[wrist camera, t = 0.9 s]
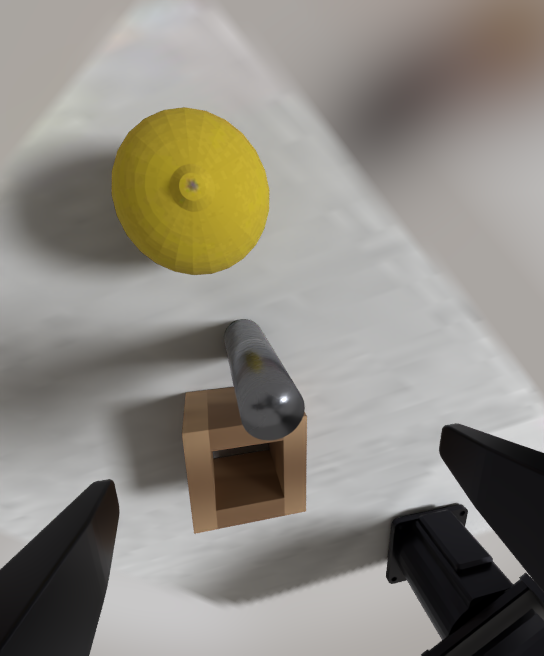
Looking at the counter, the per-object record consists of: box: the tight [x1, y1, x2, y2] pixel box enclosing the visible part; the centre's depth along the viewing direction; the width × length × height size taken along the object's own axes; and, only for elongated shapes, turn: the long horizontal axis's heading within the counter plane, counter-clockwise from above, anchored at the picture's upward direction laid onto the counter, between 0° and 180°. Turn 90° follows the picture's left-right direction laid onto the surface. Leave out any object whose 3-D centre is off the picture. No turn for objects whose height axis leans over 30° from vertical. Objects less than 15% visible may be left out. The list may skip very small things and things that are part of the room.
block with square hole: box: [182, 387, 307, 534], centre depth 18 cm, size 6×6×4 cm
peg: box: [224, 319, 305, 441], centre depth 15 cm, size 2×2×8 cm
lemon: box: [112, 107, 269, 275], centre depth 12 cm, size 6×6×8 cm
